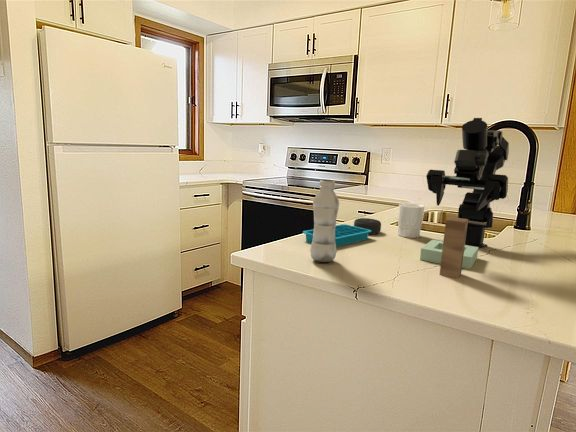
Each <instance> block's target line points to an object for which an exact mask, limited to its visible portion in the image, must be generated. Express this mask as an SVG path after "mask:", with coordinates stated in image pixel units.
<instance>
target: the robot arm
mask: <svg viewBox="0 0 576 432" xmlns="http://www.w3.org/2000/svg"><path fill="white" fill-rule="evenodd" d="M461 132H462V134H461V135H462V149H458V150H457V151H456V152H455V153H456V154H455V158H454V161H453V162H454V165H455V167H454V169H453V173H454V174H456V175H446V171H445V170H441V169H439V170H438V169H429V170H428V171H427V173H426V175H425V177H426V183H427V189H428V191H430V192H432V194H435V195H436V198H435V199H436V206H440V205H441V202H442V199H443V197H444V195H445V190H446V186H448V185H449V186H450V185H451V186H457V188H460V189H471V190H472V192H469V191H468V192H466V193H465V195H464V198H463V200H462V203H460V204H459V207H458V212H457V218H461V219H468V225H467V232H466V240H465V245H468V246H474V247H479V248H484V247H485V248H486V247H488V244H486V243H484V238H485V232H486V229H490V228H493V223H494V212H493V210H492V207H491V203H492V202H493V201H499V200H500V199H502V200H503V199H506V198H507V195H508V190H509V177H508V176H507V175H506V174H497V173H496V172H497V171H498V170H500V169H502V168H503V167H504V165H505V163H506V161H508V158H509V151H510V150H509V147H510V146H509V142H508V141H507V140H506V139H505V138H504V136H503V131H501V130H498V129H497V130H495V129H494V130H491V129H488V123H487V122H486V121H484V120H483V118H482V117H474V118H473V119H472V120H469V121H467V122H465V123H464V124H462V126H461Z"/></svg>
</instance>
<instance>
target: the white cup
mask: <svg viewBox="0 0 576 432" xmlns="http://www.w3.org/2000/svg"><path fill="white" fill-rule="evenodd" d="M424 211H425V206H424V205H422V204H419V203H418V204H417V203H399V204H398V218H397V222H398V223H397V226H398V229H397V230H398V231H397V235H398V236H400V237H403V238H409V239H410V238H411V239H412V238H416V237H417V238H419V237H420V236H421V235H420V234H421V229H422V225H423V224H422V223H423V219H424V213H425V212H424Z"/></svg>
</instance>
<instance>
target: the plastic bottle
mask: <svg viewBox="0 0 576 432" xmlns="http://www.w3.org/2000/svg"><path fill="white" fill-rule="evenodd" d="M318 188H319V191H318V192H317V193H316V194H315V196H314V198H313V201H312V208H313V229H314V232H313V240H312V243H311V244H310V249H309V251H310V252H309V253H310V256H311V259H312V260H314V261H315V262H319V263H330V262H333V261H334V260H335V258H336V255H337V247H336V243H335V227H336V226H335V225H336V224H337V217H338V213H339V207H340V199H339V198H338V196H337V194H336V193H335V192H336V191H335V190H334V189H336V182H335V180H334V179H320V180H319V185H318Z"/></svg>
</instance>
